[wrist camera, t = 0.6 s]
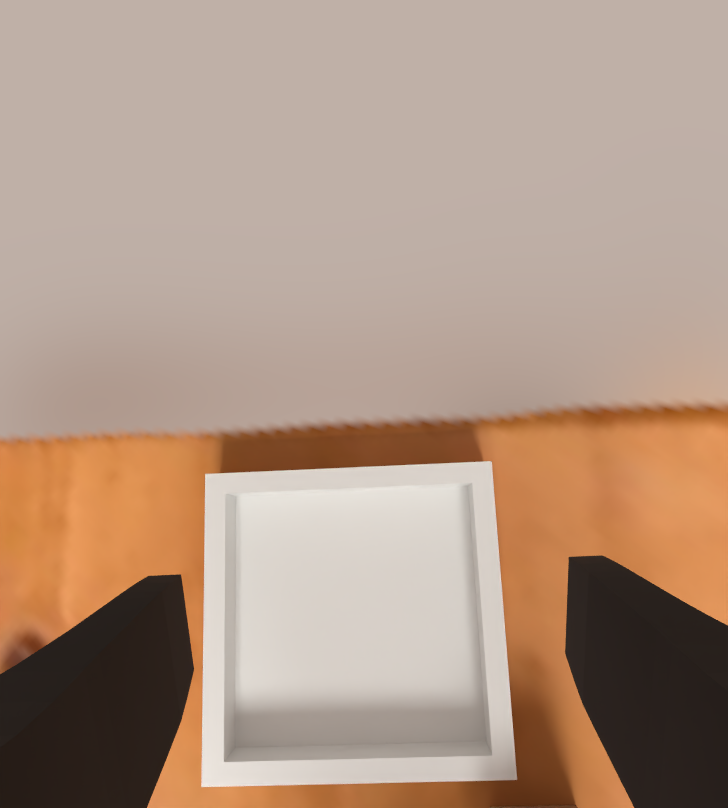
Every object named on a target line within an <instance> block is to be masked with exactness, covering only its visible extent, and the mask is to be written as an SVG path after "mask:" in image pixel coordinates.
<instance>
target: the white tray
mask: <svg viewBox="0 0 728 808" xmlns="http://www.w3.org/2000/svg"><path fill="white" fill-rule="evenodd" d="M494 780H517V772H516V759H515V747H514V735H513V722H512V710H511V697H510V685H509V672H508V660H507V647H506V635H505V622H504V610H503V597H502V585H501V573H500V560H499V548H498V535H497V523H496V510H495V498H494V485H493V473H492V461H484V462H462V463H440V464H417V465H395V466H373V467H350V468H328V469H306V470H283V471H261V472H239V473H216V474H205V549H204V631H203V714H202V787H224V786H269V785H314V784H359V783H404V782H449V781H494Z"/></svg>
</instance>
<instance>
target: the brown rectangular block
mask: <svg viewBox="0 0 728 808" xmlns="http://www.w3.org/2000/svg"><path fill="white" fill-rule="evenodd" d="M490 808H577V806H576V805H554V806H505V807H490Z"/></svg>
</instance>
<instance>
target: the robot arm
mask: <svg viewBox="0 0 728 808" xmlns="http://www.w3.org/2000/svg"><path fill="white" fill-rule="evenodd" d="M565 654H566V657H567V660H568V663H569V666H570V669H571V672H572V675H573V678H574V681H575V684H576V687H577V689H578V692H579V695H580V698H581V700H582V703H583V705H584V707H585V710H586V712H587V714H588V716H589V718H590V720H591V722H592V724H593V726H594V728H595V730H596V732H597V734H598V736H599V738H600V740H601V742H602V744H603V746H604V748H605V750H606V752H607V754H608V756H609V758H610V760H611V762H612V764H613V766H614V768H615V770H616V772H617V774H618V776H619V778H620V780H621V782H622V784H623V786H624V788H625V790H626V792H627V794H628V796H629V798H630V800H631V802H632V804H633V806H634V808H728V626H727V625H725V624H724V623H722V622H720V621H718V620H716V619H714V618H712V617H710V616H708V615H706V614H705V613H703V612H701V611H699V610H697V609H696V608H694V607H692V606H690V605H688V604H687V603H685V602H683V601H681V600H680V599H678V598H676V597H674V596H673V595H671V594H669V593H668V592H666V591H664V590H662V589H661V588H659V587H657V586H656V585H654V584H652V583H651V582H649V581H647V580H646V579H644V578H642V577H641V576H639V575H637V574H635V573H634V572H632V571H630V570H629V569H627V568H625V567H623V566H622V565H620V564H618V563H616V562H614V561H612V560H611V559H608V558H606V557H604V556H581V557H569V569H568V595H567V622H566V648H565ZM193 671H194V666H193V659H192V651H191V644H190V637H189V629H188V622H187V615H186V608H185V600H184V593H183V586H182V578H181V575H160V576H148V577H146V578H144V579H142V580H141V581H139V582H138V583H136V584H134V585H133V586H131V587H130V588H129V589H127V590H126V591H124V592H123V593H121V594H120V595H119V596H117V597H116V598H114V599H113V600H111V601H110V602H109V603H107V604H106V605H104V606H103V607H102V608H100V609H99V610H97V611H96V612H95V613H93V614H92V615H90V616H89V617H88V618H86V619H85V620H83V621H82V622H80V623H79V624H78V625H76V626H75V627H73V628H72V629H70V630H69V631H68V632H66V633H65V634H63V635H62V636H60V637H58V638H57V639H55V640H54V641H52V642H51V643H49V644H48V645H46V646H45V647H43V648H42V649H40V650H38V651H37V652H35V653H34V654H32V655H31V656H29V657H28V658H26V659H25V660H23V661H22V662H20V663H18V664H17V665H15V666H14V667H12V668H10V669H9V670H7V671H5V672H4V673H2V674H0V808H147V806H148V803H149V801H150V798H151V796H152V793H153V791H154V788H155V786H156V783H157V781H158V778H159V776H160V773H161V771H162V768H163V766H164V763H165V761H166V758H167V756H168V753H169V751H170V748H171V746H172V743H173V741H174V738H175V735H176V733H177V730H178V728H179V725H180V722H181V719H182V715H183V712H184V708H185V704H186V700H187V697H188V692H189V688H190V684H191V680H192V676H193Z"/></svg>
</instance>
